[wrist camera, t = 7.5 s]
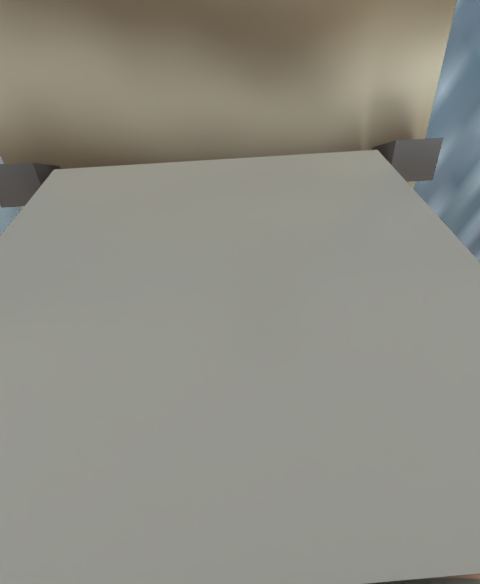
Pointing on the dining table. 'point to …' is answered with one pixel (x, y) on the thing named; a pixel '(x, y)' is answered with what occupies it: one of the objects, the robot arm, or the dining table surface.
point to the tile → (237, 377)
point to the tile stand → (215, 82)
